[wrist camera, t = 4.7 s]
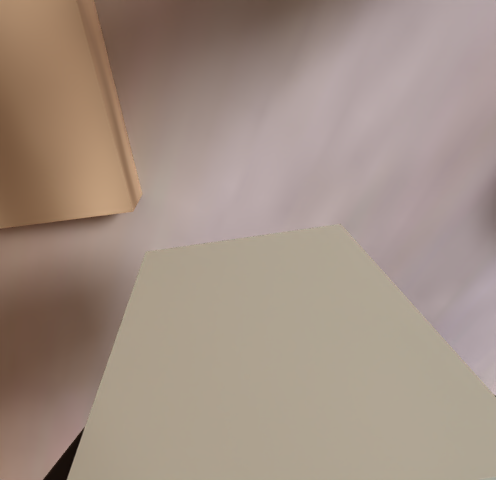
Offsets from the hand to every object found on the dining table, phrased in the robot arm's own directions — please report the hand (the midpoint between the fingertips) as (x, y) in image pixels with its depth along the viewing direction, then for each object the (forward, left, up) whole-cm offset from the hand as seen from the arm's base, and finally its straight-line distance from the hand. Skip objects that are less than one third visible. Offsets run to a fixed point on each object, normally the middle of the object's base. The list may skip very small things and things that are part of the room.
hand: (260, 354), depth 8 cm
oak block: (+9, -5, -12) cm, 16 cm away
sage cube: (0, 0, -2) cm, 2 cm away
